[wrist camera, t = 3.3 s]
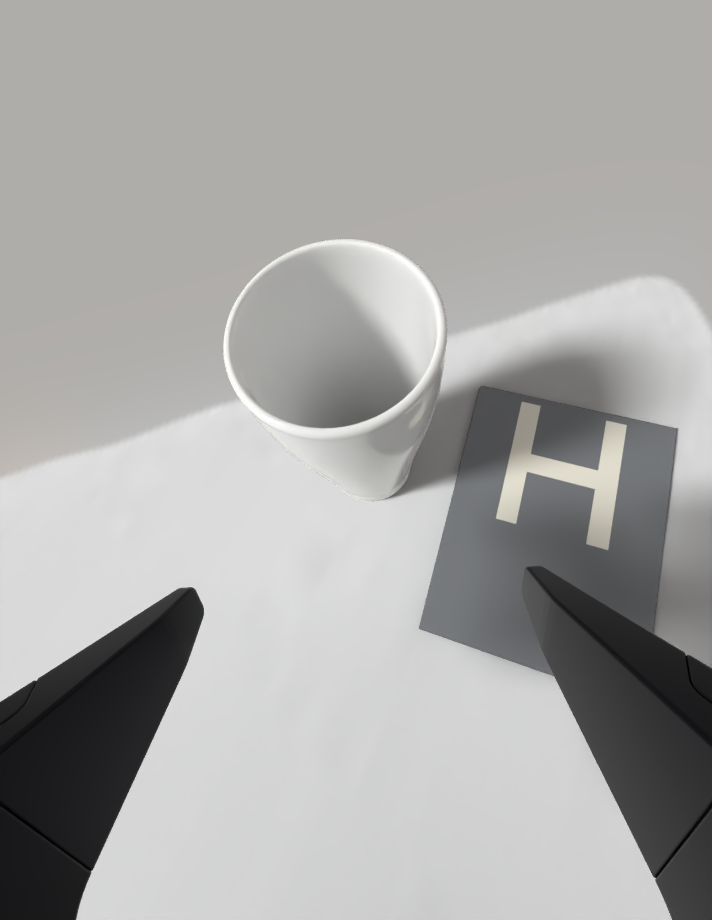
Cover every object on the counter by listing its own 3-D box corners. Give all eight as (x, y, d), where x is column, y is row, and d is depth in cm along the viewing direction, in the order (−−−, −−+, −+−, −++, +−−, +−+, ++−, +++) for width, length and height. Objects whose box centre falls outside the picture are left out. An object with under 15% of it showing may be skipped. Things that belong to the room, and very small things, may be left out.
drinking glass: (388, 534, 24) (370, 486, 9) (302, 481, 25) (173, 372, 11) (440, 445, 25) (495, 283, 11) (354, 400, 27) (300, 205, 12)
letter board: (641, 705, 20) (644, 707, 20) (419, 628, 22) (419, 628, 22) (673, 430, 23) (677, 428, 23) (479, 387, 26) (480, 385, 25)
